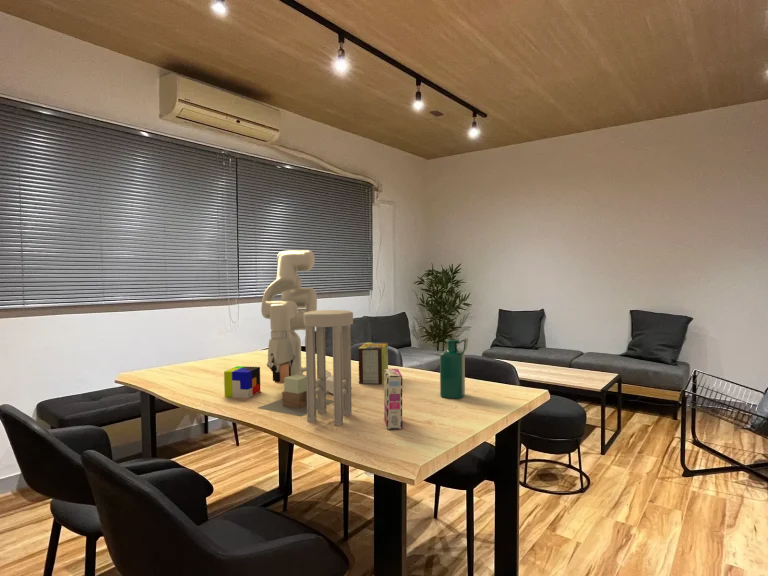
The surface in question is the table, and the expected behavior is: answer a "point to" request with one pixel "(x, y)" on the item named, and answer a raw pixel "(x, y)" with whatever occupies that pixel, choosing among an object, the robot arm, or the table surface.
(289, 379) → the tower top
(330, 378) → the cream shape with stub
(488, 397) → the table surface
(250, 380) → the puzzle toy
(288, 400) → the tower base
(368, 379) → the protein box
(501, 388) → the table surface
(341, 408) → the stool
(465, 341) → the pitcher
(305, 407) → the rubber mat
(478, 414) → the table surface
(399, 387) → the candy bar box
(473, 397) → the table surface
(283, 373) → the peach egg shape
